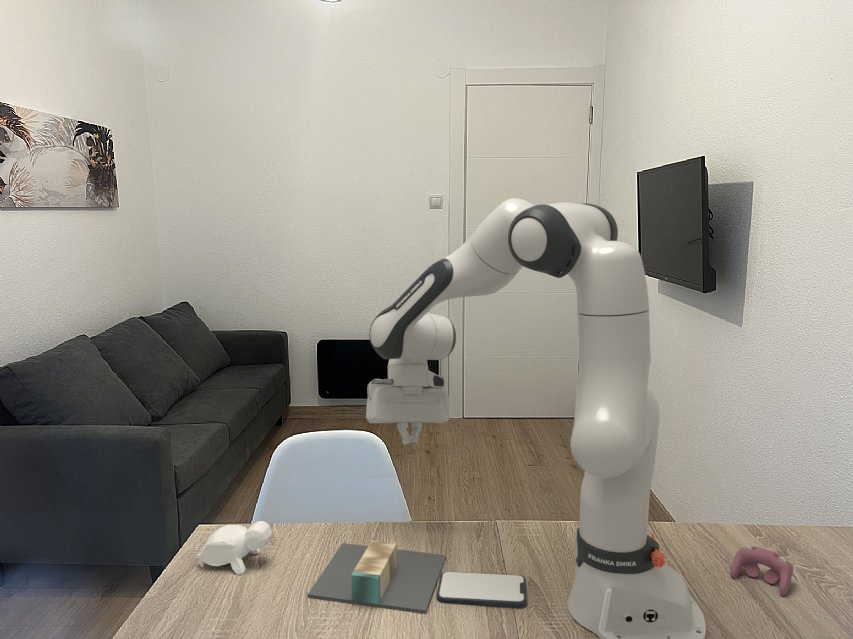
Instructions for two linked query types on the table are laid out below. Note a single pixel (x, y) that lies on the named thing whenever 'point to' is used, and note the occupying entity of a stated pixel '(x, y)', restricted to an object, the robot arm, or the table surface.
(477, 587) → the smartphone
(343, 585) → the rubber mat
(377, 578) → the birch block
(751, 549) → the video game controller
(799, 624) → the table surface
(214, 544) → the white tortoise figurine
